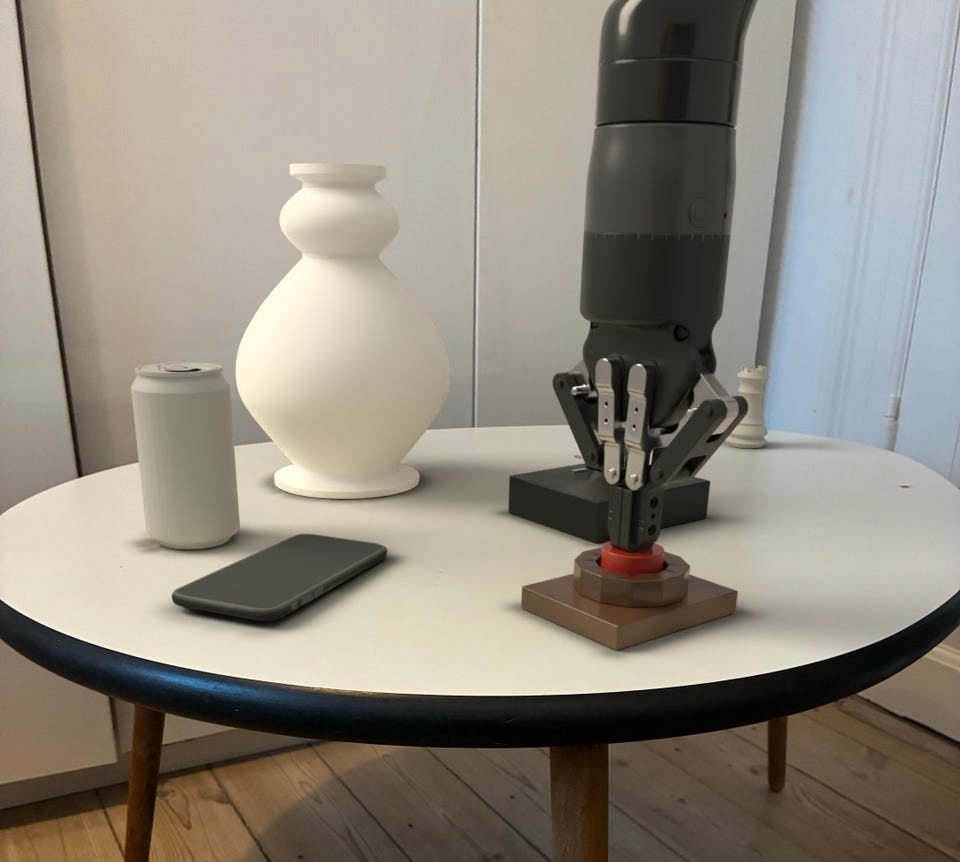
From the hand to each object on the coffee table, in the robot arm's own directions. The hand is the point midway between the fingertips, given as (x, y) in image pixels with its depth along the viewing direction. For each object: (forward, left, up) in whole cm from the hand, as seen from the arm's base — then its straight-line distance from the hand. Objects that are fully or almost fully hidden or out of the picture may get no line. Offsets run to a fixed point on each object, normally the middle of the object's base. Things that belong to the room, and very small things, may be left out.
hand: (631, 547), depth 59 cm
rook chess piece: (-46, -28, -4) cm, 54 cm away
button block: (0, 0, -4) cm, 4 cm away
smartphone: (+14, -16, -4) cm, 21 cm away
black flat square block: (-15, -17, -4) cm, 23 cm away
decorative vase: (-3, -37, -4) cm, 37 cm away
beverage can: (+15, -28, -4) cm, 32 cm away
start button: (0, 0, -2) cm, 2 cm away
